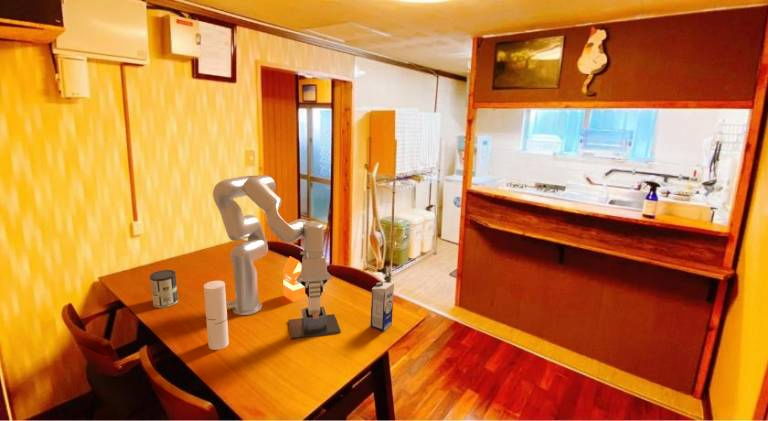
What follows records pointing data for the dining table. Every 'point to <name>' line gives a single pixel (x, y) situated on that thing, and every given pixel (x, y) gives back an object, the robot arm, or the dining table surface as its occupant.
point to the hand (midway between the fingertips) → (313, 294)
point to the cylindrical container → (216, 314)
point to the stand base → (313, 325)
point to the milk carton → (382, 306)
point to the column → (314, 297)
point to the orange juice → (293, 280)
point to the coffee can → (164, 288)
